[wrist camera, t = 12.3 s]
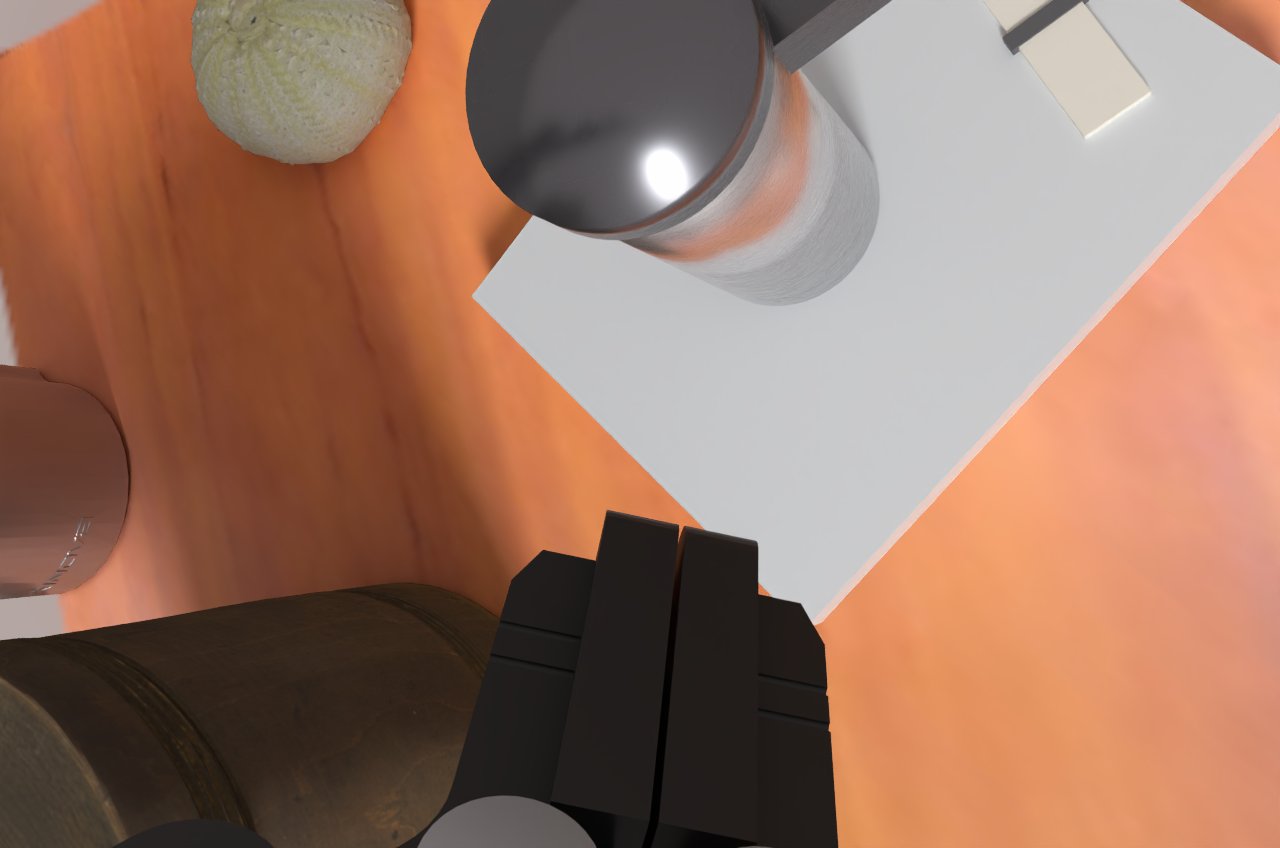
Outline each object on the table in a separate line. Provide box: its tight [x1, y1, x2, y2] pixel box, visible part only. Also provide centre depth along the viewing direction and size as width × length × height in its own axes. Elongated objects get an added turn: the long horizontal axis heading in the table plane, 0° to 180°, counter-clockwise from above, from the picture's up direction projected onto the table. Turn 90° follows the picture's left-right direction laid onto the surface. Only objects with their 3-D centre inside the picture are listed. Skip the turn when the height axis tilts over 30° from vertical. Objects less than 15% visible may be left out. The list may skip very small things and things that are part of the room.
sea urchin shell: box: [190, 0, 412, 165], centre depth 44 cm, size 9×8×8 cm
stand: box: [472, 0, 1280, 625], centre depth 36 cm, size 16×20×2 cm
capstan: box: [466, 0, 892, 306], centre depth 28 cm, size 18×7×13 cm, turn 120°
